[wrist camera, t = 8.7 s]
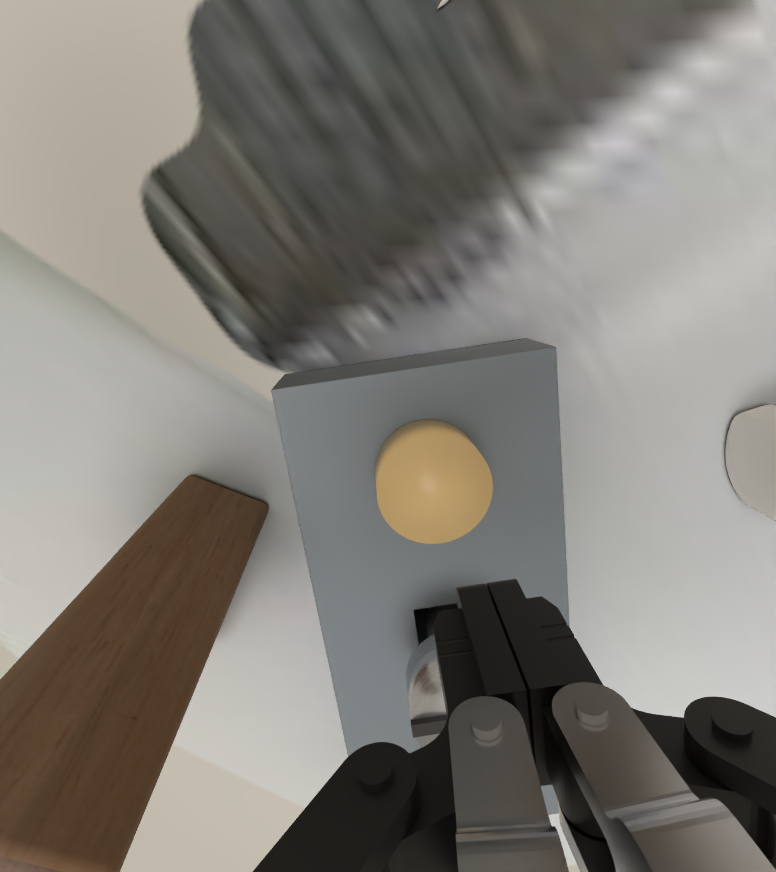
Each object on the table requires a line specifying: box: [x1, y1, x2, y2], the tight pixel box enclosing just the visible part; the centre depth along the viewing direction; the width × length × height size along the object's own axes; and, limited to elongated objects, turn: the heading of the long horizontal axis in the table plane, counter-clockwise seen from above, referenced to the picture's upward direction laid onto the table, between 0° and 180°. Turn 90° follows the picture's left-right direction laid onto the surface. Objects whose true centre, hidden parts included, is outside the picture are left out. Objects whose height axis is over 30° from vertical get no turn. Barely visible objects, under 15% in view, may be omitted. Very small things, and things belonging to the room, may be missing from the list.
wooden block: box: [0, 476, 268, 872], centre depth 19 cm, size 9×4×18 cm, turn 155°
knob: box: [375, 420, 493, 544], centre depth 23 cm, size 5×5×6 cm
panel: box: [271, 338, 570, 815], centre depth 27 cm, size 12×26×4 cm, turn 8°
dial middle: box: [406, 604, 458, 747], centre depth 23 cm, size 5×5×6 cm
